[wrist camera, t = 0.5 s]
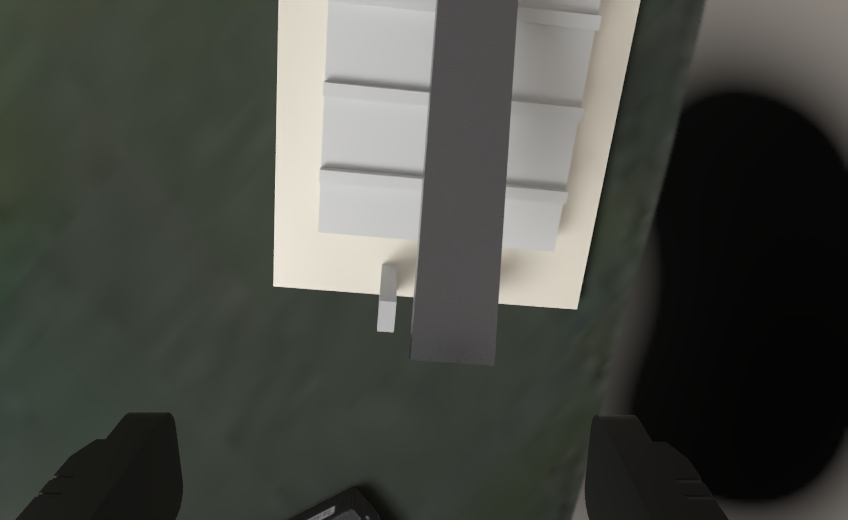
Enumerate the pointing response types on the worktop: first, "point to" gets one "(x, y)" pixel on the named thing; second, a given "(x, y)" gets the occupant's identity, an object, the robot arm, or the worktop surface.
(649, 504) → the robot arm
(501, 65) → the strap
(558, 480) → the worktop surface
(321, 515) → the disk drive
